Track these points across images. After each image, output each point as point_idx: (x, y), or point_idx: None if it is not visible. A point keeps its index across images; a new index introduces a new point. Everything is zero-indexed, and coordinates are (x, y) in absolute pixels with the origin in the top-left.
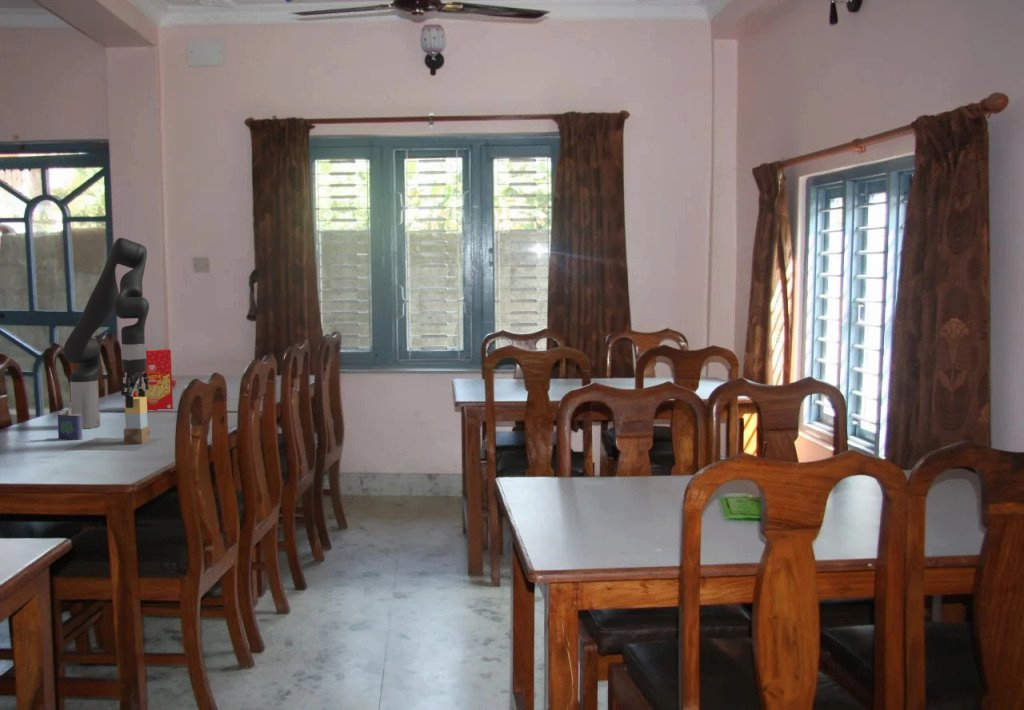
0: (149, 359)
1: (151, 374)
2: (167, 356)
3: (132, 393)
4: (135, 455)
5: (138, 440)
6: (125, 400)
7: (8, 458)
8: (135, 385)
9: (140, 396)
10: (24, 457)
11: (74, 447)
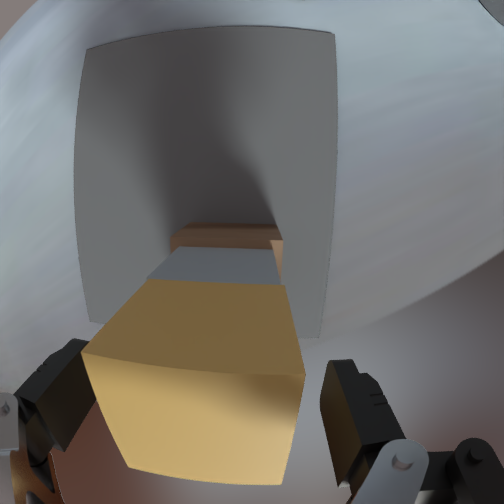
0: None
1: None
2: None
3: (41, 472)
4: (55, 332)
5: None
6: (93, 347)
7: (30, 7)
8: None
9: (341, 432)
10: (30, 28)
11: (120, 56)
